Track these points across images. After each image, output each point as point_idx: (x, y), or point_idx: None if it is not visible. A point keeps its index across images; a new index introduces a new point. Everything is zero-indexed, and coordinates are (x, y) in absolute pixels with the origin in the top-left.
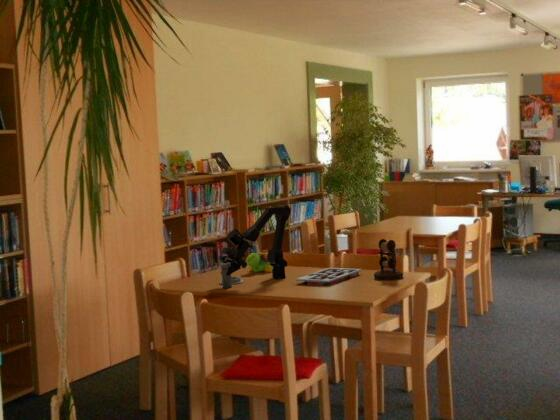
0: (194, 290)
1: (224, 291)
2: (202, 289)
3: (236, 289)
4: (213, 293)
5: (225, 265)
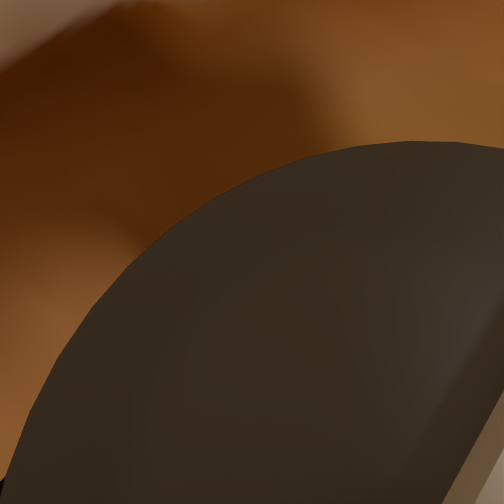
0: (476, 4)
1: (67, 181)
2: (455, 93)
3: (25, 370)
4: (89, 31)
5: (117, 309)
